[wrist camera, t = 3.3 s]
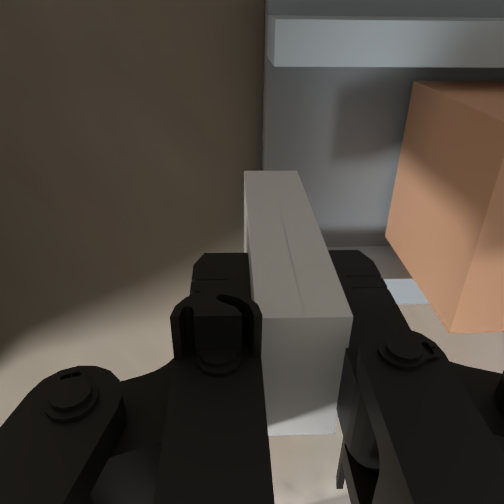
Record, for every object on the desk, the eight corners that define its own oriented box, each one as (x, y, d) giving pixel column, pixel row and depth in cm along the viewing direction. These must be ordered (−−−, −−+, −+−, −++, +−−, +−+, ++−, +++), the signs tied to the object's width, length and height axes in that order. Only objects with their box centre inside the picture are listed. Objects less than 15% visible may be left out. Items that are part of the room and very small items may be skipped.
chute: (259, 271, 20) (265, 319, 17) (266, -7, 15) (276, -7, 12) (593, 264, 21) (654, 309, 18) (718, -1, 16) (838, 1, 12)
